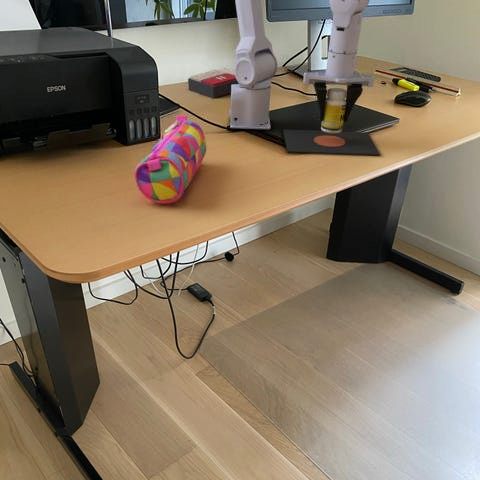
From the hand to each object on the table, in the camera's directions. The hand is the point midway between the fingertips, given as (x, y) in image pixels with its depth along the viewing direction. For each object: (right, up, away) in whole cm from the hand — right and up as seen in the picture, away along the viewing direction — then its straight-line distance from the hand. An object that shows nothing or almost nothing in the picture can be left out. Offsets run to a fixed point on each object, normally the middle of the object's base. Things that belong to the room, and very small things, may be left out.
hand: (332, 120), depth 111 cm
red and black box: (-26, +22, +35) cm, 49 cm away
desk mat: (0, -4, +3) cm, 5 cm away
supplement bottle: (0, -2, +1) cm, 2 cm away
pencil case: (-33, -18, -16) cm, 41 cm away
